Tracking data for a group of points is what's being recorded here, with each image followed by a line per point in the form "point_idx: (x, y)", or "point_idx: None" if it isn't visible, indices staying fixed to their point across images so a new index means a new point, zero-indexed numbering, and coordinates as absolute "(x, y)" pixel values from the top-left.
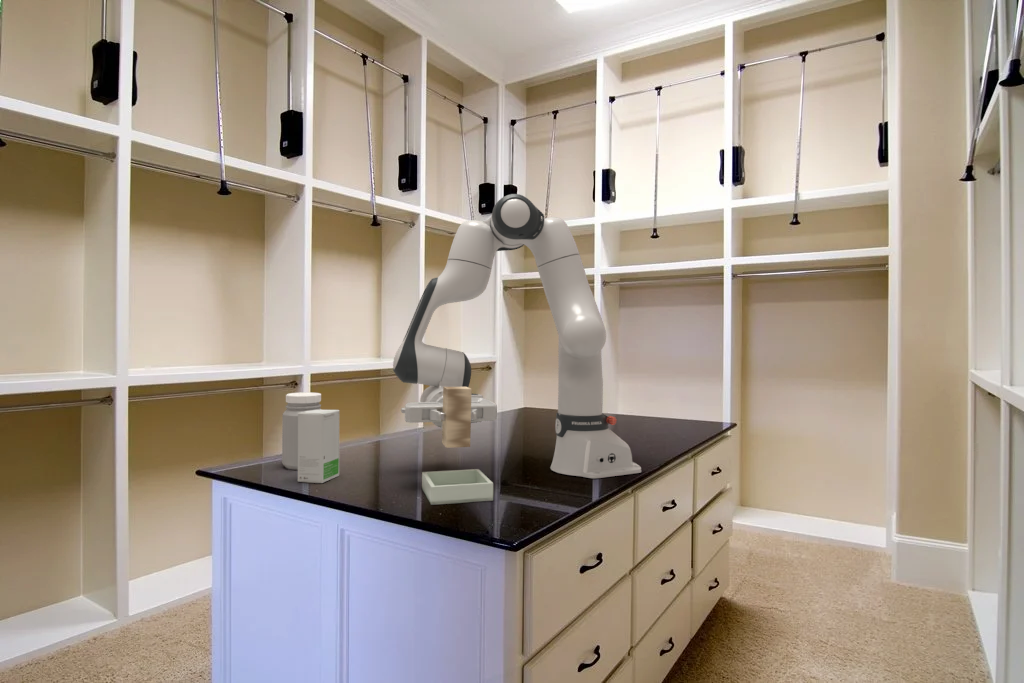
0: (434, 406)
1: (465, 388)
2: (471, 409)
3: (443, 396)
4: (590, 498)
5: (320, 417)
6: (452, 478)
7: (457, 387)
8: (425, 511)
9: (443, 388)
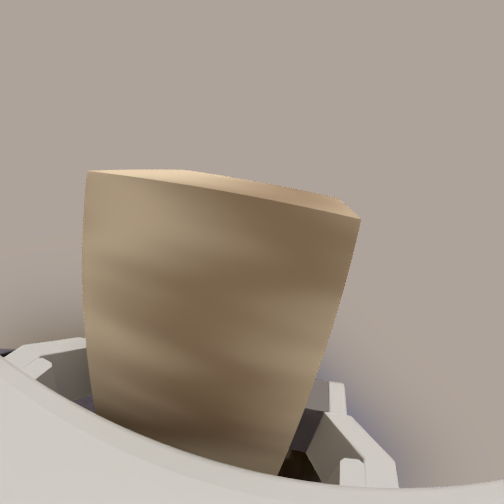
0: (371, 487)
1: (202, 174)
2: (50, 363)
3: (329, 322)
4: (4, 354)
5: None
6: None
7: (222, 183)
8: (314, 474)
9: (354, 237)
